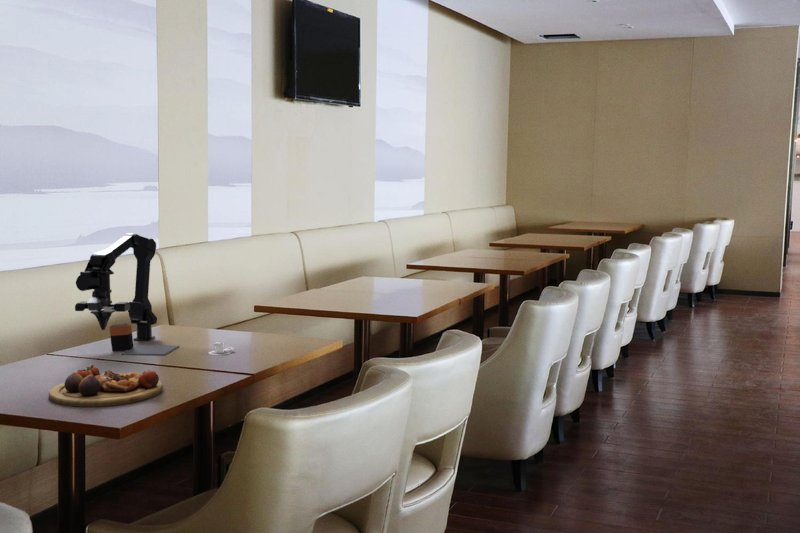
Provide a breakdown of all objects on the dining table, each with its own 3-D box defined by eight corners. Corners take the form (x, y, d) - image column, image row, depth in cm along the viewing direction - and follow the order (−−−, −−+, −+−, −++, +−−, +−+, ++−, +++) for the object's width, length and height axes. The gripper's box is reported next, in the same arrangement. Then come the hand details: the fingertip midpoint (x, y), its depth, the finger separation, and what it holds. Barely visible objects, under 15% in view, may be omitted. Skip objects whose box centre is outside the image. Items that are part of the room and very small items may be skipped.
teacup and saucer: (235, 352, 328) (235, 341, 328) (229, 356, 320) (229, 345, 320) (212, 351, 329) (212, 340, 328) (205, 355, 321) (205, 344, 320)
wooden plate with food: (182, 385, 276) (182, 359, 275) (124, 412, 245) (123, 382, 244) (92, 379, 284) (91, 353, 283) (25, 404, 254) (23, 375, 253)
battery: (129, 350, 326) (126, 323, 325) (111, 351, 327) (108, 324, 326) (134, 347, 330) (131, 321, 329) (116, 348, 331) (113, 322, 330)
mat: (137, 346, 336) (137, 344, 336) (179, 346, 335) (179, 345, 335) (121, 354, 320) (121, 353, 320) (164, 355, 319) (164, 354, 319)
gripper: (67, 290, 319) (69, 333, 321) (118, 290, 318) (119, 334, 320) (80, 286, 330) (82, 328, 332) (130, 286, 329) (131, 328, 331)
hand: (103, 329), depth 328 cm, fingers closed
